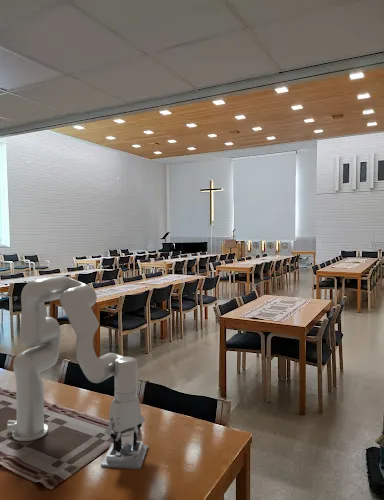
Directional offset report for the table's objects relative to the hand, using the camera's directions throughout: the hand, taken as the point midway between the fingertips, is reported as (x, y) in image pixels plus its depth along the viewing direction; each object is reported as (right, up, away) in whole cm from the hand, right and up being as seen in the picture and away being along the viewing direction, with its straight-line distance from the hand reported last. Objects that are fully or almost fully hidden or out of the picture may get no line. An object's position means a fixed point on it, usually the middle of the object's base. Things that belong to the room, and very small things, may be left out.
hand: (125, 446), depth 136 cm
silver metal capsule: (0, -1, 0) cm, 1 cm away
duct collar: (0, -3, 0) cm, 3 cm away
